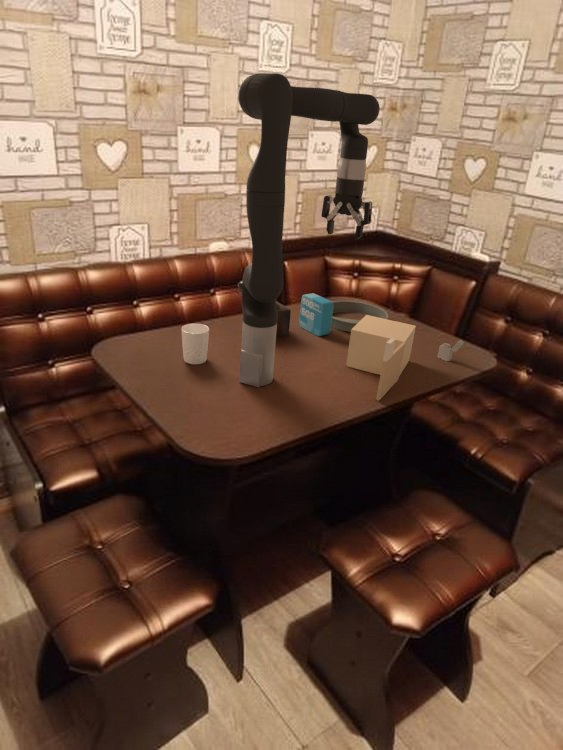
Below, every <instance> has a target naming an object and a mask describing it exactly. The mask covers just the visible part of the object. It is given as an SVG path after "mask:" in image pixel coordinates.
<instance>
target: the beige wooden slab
mask: <svg viewBox="0 0 563 750" xmlns="http://www.w3.org/2000/svg"><path fill="white" fill-rule="evenodd" d="M395 340H396V339H394V338H391V339H390V340H388V341H387V342H386V346H385V351H384V357H383V364H382V369H381V375H380V376H379V382H378V386H377V387H378V388H377V391H376V398H375V400H376V401H380V400H381V399H382V398H383V397H384V396H385V395H386V394H387V392H389V391H390V389H391V388H392V387H394V385H395V384H396V383H397V382H398V381H399V378H400V376H399V374H400V369H401V364H402V359H403V354H404V348H405V343H404V342H403V343H401V344H400V345H399V346H398V347H397V348H396V349H395V350H394V346H395ZM400 375H401V374H400Z"/></svg>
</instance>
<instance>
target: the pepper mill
mask: <svg viewBox="0 0 563 750" xmlns="http://www.w3.org/2000/svg"><path fill="white" fill-rule="evenodd" d="M237 287H238V289H239V290H240V294H241V296H242V280H240V281H239V282H238V283H237ZM276 309H277V313H278V319H277V331H276V339H278V337H280V338H283V337H288V336H290V326H291V325H290V324H291V314H292V313H291V312H292V310H291V309H289V308H288V307H286V306H285V305H284V304H281V303H280V302H278V301H277V300H276Z"/></svg>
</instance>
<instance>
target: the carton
mask: <svg viewBox="0 0 563 750" xmlns="http://www.w3.org/2000/svg"><path fill="white" fill-rule="evenodd" d="M359 320H360V321H359V322H358V323H357V324H356V325H355V326H354V327H353V328H352V329H351V332H350V337H349V343H348V351H347V356H346V363H345V364H346V365H345V367H348V368H353V369H356V370H360V371H365V372H367V373H370V374H371V373H372V374H375V375H378V376H379V375H381V369H382V364H383V357H384V351H385V346H386V342H387V341H388V340H390V339H391V338H394V339H396V340H395V346H394V350H395V349H396V348H397V347H398V346H399V345H400V344H401V343H403V342H404V343H405V348H404V354H403V359H402V364H401V369H400V374H399V377H400V376H401V375H402V373H403V371H404V369H406V366H407V364H408V363H409V362H408V361H410V358H411V352H412V347H413V342H414V338H415V332H416V328H417V326H416V325H414V324H409V323H404V322H401V321H395V320H392V319H389V318H388V319H383V318H379V317H374V316H370V315H364V317H362V318H361V319H359Z"/></svg>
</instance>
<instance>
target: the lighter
mask: <svg viewBox="0 0 563 750" xmlns="http://www.w3.org/2000/svg"><path fill="white" fill-rule="evenodd" d="M464 344H465V342H464V341H463V340H462V339H460V340H458V341H457V342H456V343H455V345H453V347H451V346H452V345H451V344H450V343H447V342H444V343H443V344H440V345H439V348H438V352H437V358H438V359H440V358H441V359H440V360H443V361H444V362H447V361H449V362H451V361H452V357H453V353H456V352H458V351H459V350H460V348H461V347H462V346H463V345H464ZM450 360H451V361H450Z"/></svg>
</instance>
